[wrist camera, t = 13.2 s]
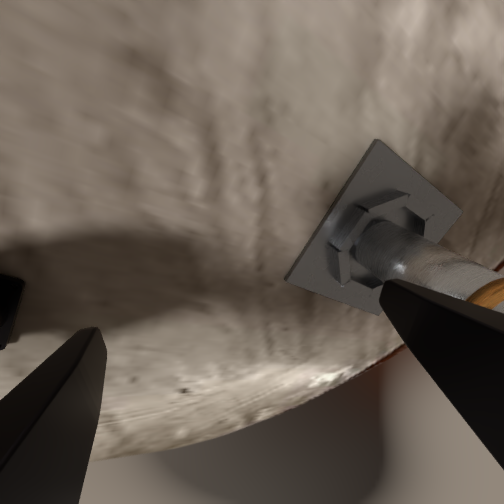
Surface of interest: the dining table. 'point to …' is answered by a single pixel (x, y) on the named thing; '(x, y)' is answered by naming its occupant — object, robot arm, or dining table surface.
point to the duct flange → (361, 219)
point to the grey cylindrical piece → (428, 265)
